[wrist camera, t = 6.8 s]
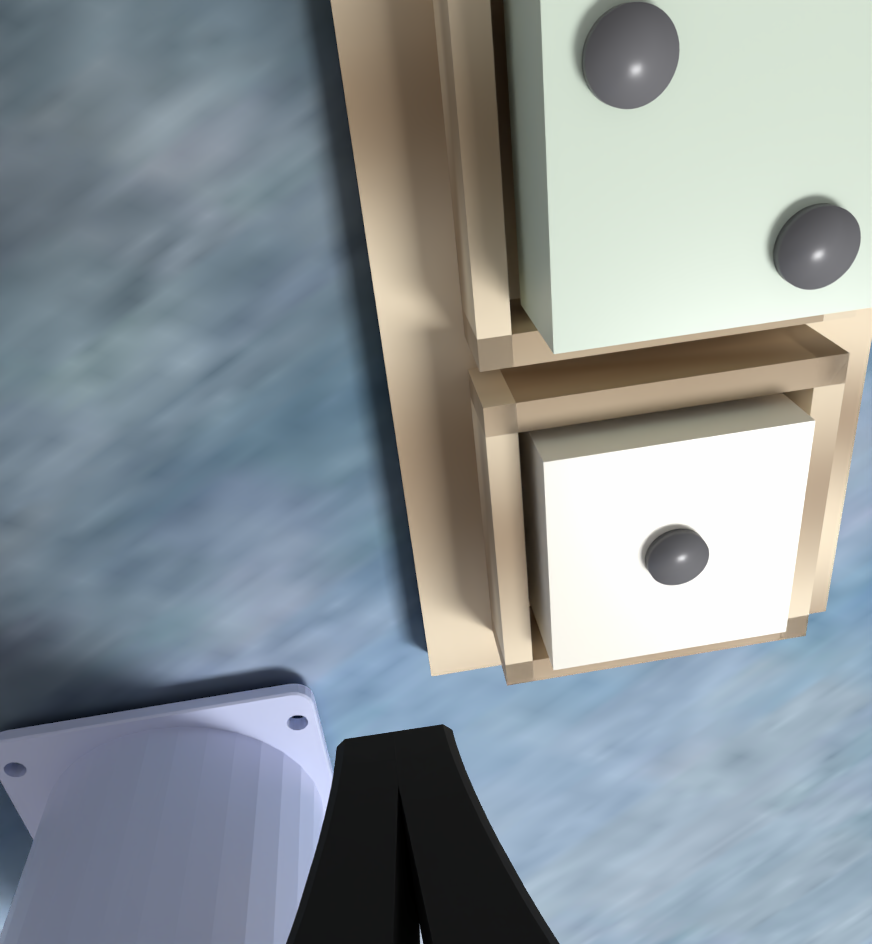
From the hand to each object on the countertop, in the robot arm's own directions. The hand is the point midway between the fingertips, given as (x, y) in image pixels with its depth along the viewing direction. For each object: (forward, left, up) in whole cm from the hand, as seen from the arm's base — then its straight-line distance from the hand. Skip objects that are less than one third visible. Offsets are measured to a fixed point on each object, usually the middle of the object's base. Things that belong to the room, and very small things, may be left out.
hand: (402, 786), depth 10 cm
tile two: (+6, -6, -7) cm, 11 cm away
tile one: (-1, -6, -8) cm, 10 cm away
